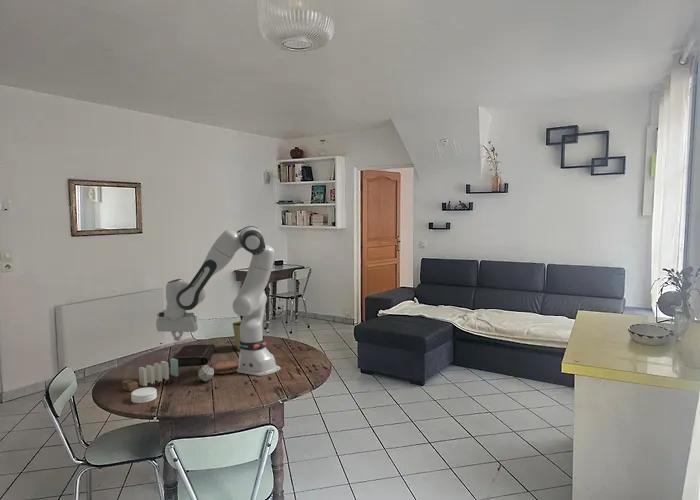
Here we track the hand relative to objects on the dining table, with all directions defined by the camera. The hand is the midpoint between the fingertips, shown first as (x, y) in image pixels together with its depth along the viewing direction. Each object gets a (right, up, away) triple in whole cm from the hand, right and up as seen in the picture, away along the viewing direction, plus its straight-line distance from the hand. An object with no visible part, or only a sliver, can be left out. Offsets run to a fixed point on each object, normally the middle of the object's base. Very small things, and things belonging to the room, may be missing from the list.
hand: (177, 340), depth 226 cm
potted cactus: (+24, -13, +45) cm, 53 cm away
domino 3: (-6, -18, -8) cm, 20 cm away
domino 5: (-1, -17, -1) cm, 17 cm away
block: (-15, -18, -18) cm, 30 cm away
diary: (-1, -16, +26) cm, 31 cm away
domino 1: (-11, -18, -13) cm, 25 cm away
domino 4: (-4, -17, -5) cm, 18 cm away
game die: (+17, -18, -10) cm, 26 cm away
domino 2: (-9, -18, -11) cm, 22 cm away
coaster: (-3, -19, -30) cm, 36 cm away
